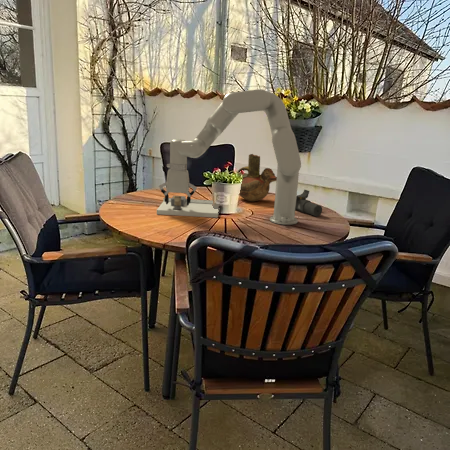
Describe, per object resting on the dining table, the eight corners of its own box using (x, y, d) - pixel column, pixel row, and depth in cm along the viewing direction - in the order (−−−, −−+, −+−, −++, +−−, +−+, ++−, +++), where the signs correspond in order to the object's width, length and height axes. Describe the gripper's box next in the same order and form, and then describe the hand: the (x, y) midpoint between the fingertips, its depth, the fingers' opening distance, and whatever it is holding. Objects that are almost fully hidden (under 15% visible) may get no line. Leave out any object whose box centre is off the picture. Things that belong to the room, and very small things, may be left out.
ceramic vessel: (269, 207, 217) (273, 158, 211) (225, 199, 229) (227, 153, 222) (281, 201, 232) (285, 156, 225) (239, 195, 244) (242, 151, 237)
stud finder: (183, 205, 201) (183, 199, 201) (170, 205, 202) (171, 198, 201) (185, 202, 209) (185, 195, 208) (173, 201, 209) (173, 195, 208)
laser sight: (309, 217, 201) (311, 197, 198) (281, 207, 220) (282, 188, 217) (324, 216, 206) (327, 196, 203) (296, 205, 225) (297, 187, 222)
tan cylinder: (180, 214, 195) (180, 197, 193) (173, 213, 195) (174, 196, 193) (181, 212, 198) (181, 195, 196) (174, 212, 198) (175, 195, 196)
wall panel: (217, 217, 192) (218, 210, 191) (156, 214, 193) (156, 206, 192) (219, 205, 215) (220, 198, 214) (165, 202, 216) (165, 195, 215)
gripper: (157, 167, 187) (157, 205, 192) (196, 169, 187) (195, 207, 191) (160, 165, 194) (160, 201, 199) (198, 167, 194) (196, 203, 199)
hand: (177, 204), depth 195 cm, fingers open, 9 cm apart
